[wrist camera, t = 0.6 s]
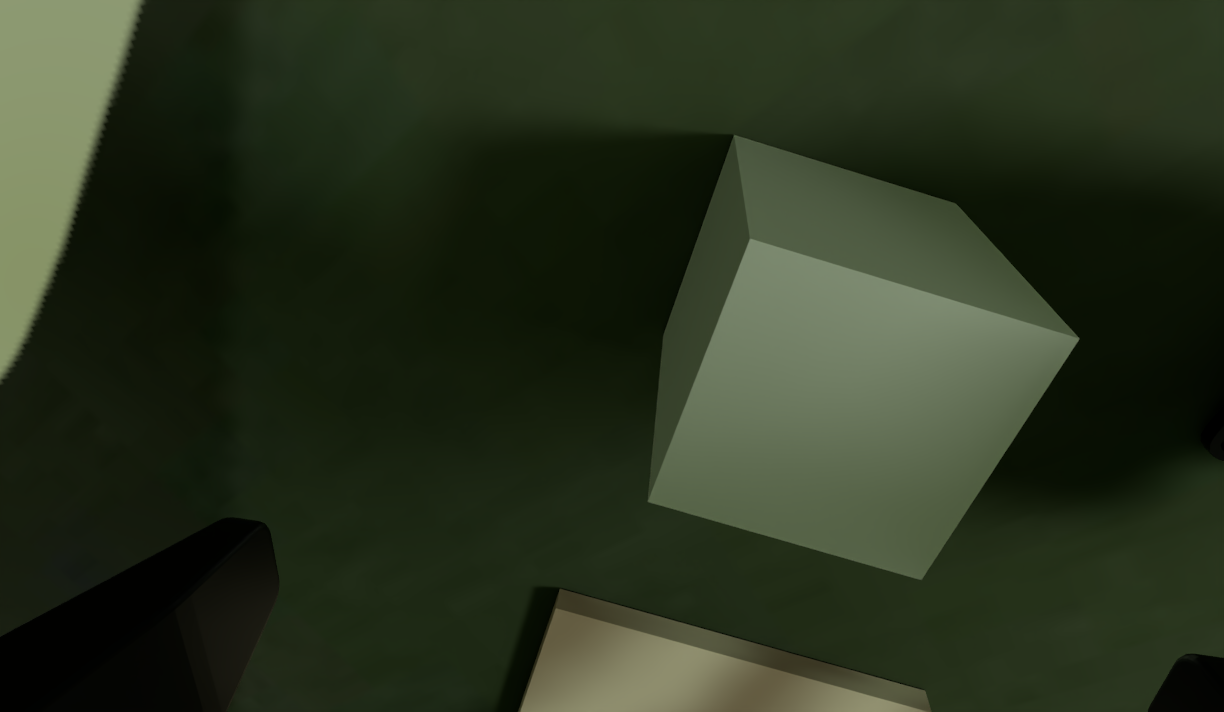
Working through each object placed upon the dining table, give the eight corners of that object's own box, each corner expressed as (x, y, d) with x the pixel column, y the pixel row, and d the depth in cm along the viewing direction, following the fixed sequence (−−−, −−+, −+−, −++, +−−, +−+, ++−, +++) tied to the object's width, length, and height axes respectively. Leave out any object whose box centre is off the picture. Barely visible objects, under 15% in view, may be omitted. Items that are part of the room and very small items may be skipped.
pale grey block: (955, 203, 18) (1080, 338, 12) (858, 392, 20) (921, 579, 14) (733, 134, 17) (750, 238, 12) (663, 334, 20) (647, 501, 14)
